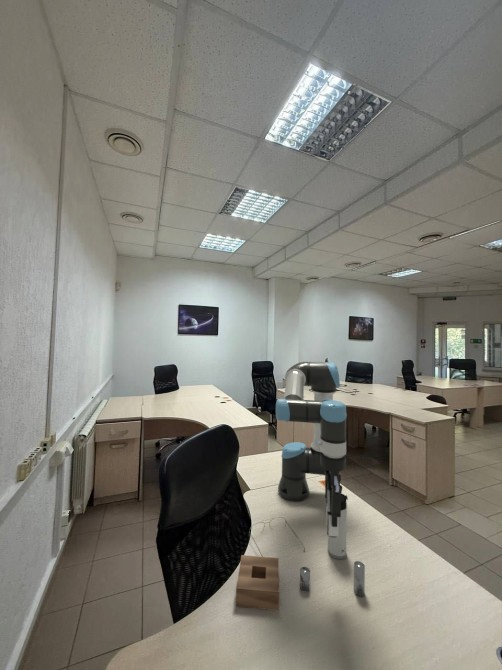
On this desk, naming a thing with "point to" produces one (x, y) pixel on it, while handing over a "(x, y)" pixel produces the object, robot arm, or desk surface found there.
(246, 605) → the collar block
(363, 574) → the medium pin
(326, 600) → the desk surface
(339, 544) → the travel mug
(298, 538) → the eyeglasses
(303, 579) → the short pin
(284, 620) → the desk surface
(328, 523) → the long pin
